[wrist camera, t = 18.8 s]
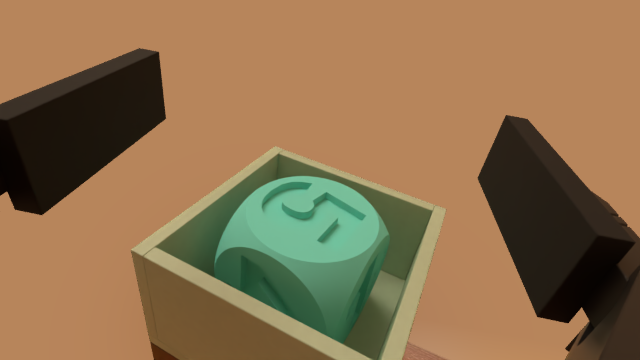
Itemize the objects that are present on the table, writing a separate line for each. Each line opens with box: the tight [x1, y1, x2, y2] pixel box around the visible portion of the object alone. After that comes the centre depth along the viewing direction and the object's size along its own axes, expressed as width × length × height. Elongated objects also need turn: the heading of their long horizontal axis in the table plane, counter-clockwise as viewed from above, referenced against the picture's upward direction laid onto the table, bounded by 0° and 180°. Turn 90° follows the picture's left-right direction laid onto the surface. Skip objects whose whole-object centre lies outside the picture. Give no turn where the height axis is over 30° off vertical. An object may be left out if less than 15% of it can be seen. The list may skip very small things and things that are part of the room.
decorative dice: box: [214, 176, 390, 344], centre depth 23 cm, size 8×8×8 cm
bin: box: [131, 147, 446, 360], centre depth 23 cm, size 14×14×8 cm
